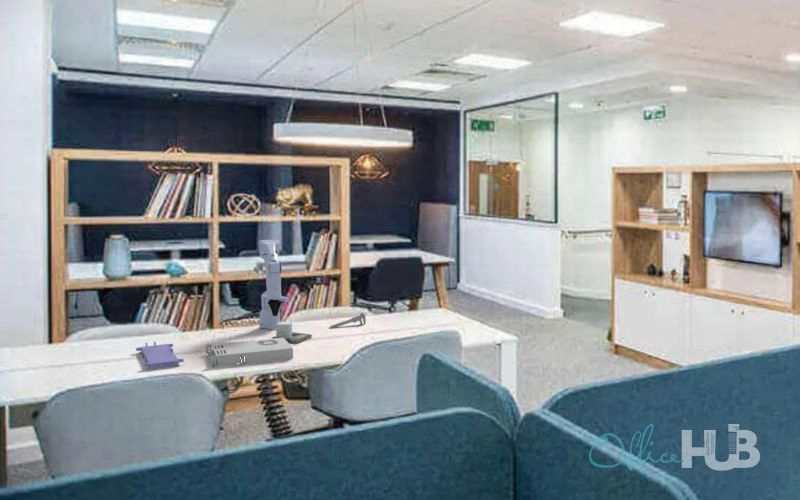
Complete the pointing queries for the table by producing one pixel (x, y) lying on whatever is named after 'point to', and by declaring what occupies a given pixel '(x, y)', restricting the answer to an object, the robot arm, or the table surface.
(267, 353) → the power supply unit
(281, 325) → the skincare box
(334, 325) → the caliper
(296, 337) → the u bracket
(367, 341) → the table surface
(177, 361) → the computer part
